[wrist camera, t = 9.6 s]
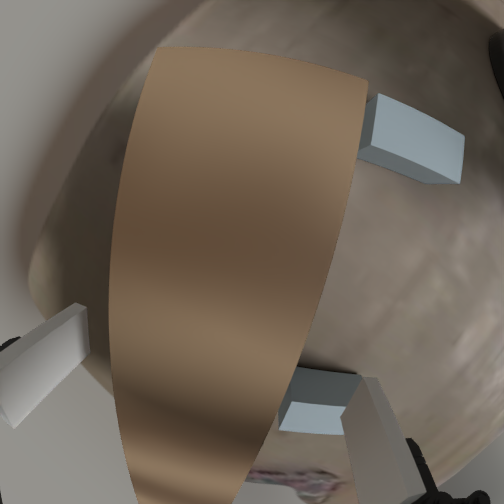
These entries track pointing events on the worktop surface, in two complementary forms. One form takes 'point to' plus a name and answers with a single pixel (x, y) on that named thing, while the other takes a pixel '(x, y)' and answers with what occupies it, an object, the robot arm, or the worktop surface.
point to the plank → (221, 257)
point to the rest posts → (406, 163)
